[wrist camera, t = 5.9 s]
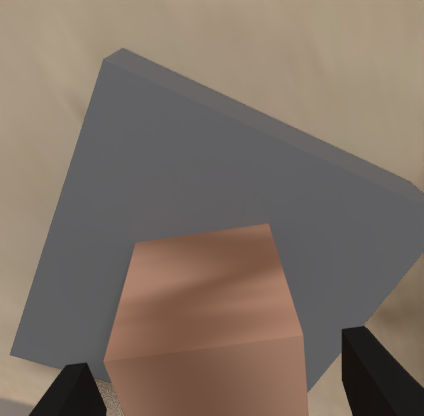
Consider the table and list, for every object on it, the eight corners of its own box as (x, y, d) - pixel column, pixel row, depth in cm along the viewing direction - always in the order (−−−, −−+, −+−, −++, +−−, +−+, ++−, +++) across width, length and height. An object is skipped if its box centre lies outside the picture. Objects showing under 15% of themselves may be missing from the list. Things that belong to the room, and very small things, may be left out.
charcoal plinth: (409, 181, 16) (451, 217, 13) (267, 374, 21) (277, 429, 18) (123, 47, 13) (103, 59, 11) (37, 303, 18) (9, 354, 16)
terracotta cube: (268, 223, 13) (303, 335, 9) (279, 324, 15) (311, 456, 11) (135, 242, 13) (103, 361, 9) (163, 339, 15) (148, 476, 11)
